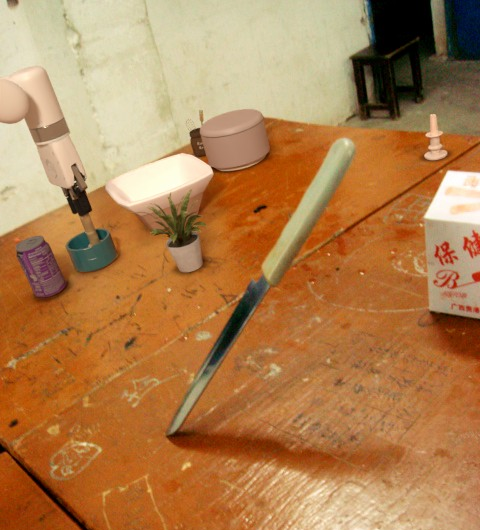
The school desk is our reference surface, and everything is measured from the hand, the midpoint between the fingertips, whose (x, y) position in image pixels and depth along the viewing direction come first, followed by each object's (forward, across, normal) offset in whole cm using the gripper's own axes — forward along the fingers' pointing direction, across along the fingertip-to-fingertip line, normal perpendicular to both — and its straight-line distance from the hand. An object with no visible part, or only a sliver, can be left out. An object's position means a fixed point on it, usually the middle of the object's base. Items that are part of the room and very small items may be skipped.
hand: (82, 212), depth 140 cm
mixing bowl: (+12, 0, -1) cm, 12 cm away
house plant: (+12, +24, +7) cm, 28 cm away
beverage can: (+12, +1, -14) cm, 19 cm away
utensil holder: (+12, -30, +56) cm, 64 cm away
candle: (+12, +41, +71) cm, 83 cm away
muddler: (+9, 0, 0) cm, 9 cm away
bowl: (+12, -2, +22) cm, 25 cm away
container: (+12, -12, +55) cm, 57 cm away
